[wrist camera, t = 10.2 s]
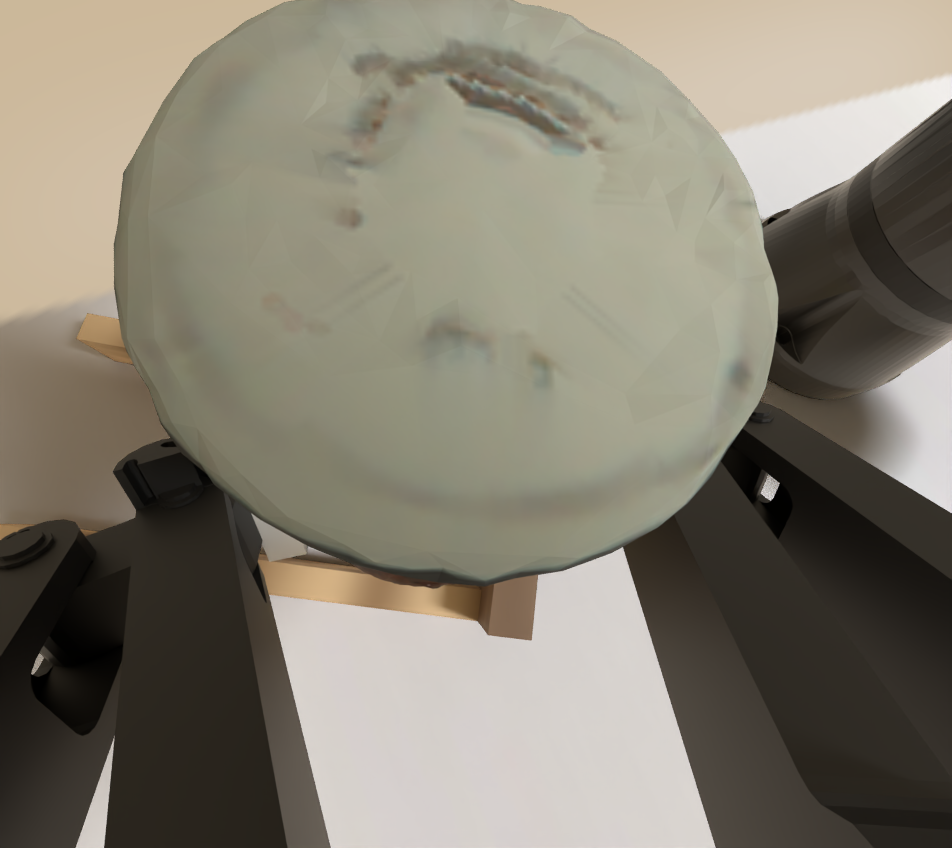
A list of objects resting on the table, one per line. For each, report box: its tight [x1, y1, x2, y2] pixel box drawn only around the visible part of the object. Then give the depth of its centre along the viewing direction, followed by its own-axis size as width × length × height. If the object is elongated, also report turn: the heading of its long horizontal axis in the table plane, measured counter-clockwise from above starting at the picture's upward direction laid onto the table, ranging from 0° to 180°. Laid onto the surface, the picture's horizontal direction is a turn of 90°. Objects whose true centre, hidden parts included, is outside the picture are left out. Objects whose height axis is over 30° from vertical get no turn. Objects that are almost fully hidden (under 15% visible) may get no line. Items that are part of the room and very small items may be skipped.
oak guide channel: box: [0, 313, 538, 640], centre depth 22 cm, size 25×12×6 cm, turn 83°
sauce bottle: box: [114, 0, 778, 589], centre depth 12 cm, size 6×6×20 cm
